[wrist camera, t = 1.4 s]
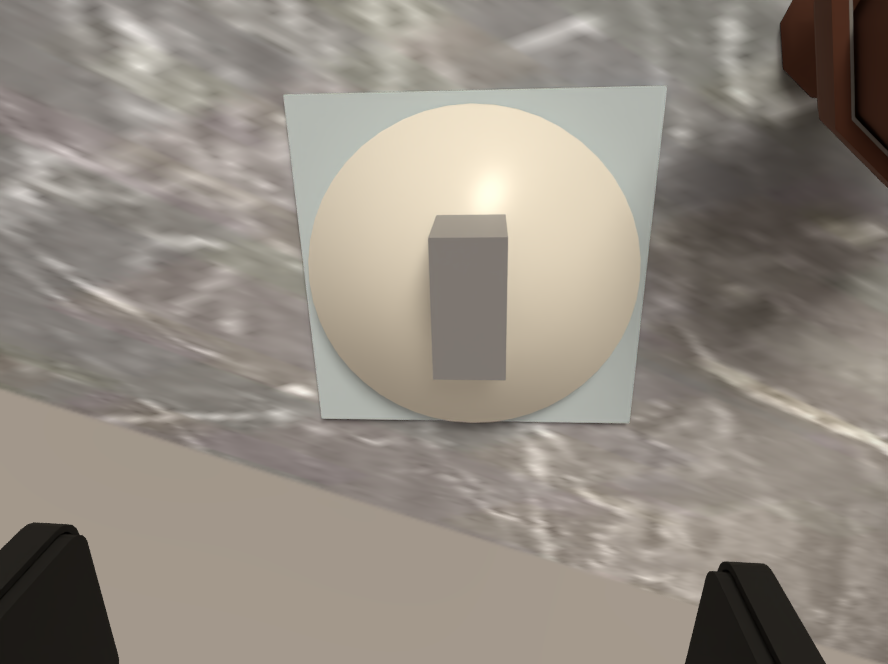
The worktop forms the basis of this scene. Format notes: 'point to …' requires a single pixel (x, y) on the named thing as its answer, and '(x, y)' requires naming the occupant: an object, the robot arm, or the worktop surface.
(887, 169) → the ice cream bowl
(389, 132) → the lid
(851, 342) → the worktop surface
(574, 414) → the mat
